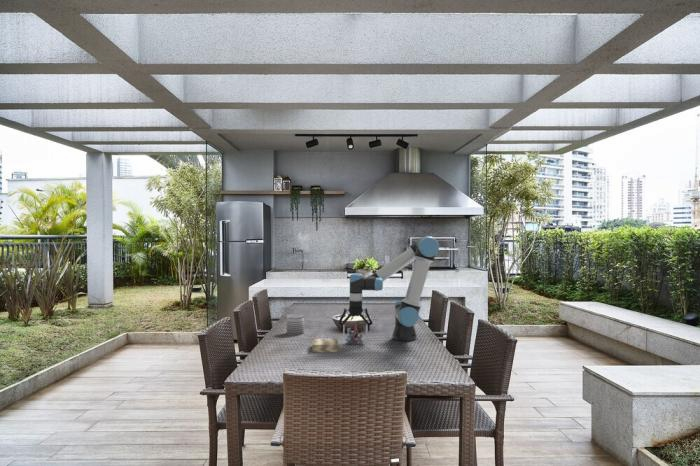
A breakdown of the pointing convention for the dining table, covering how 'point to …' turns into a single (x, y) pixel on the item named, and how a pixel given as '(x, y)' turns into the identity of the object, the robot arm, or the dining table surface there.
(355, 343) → the spiky succulent plant
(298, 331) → the can
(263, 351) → the dining table surface
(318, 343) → the oak riser
